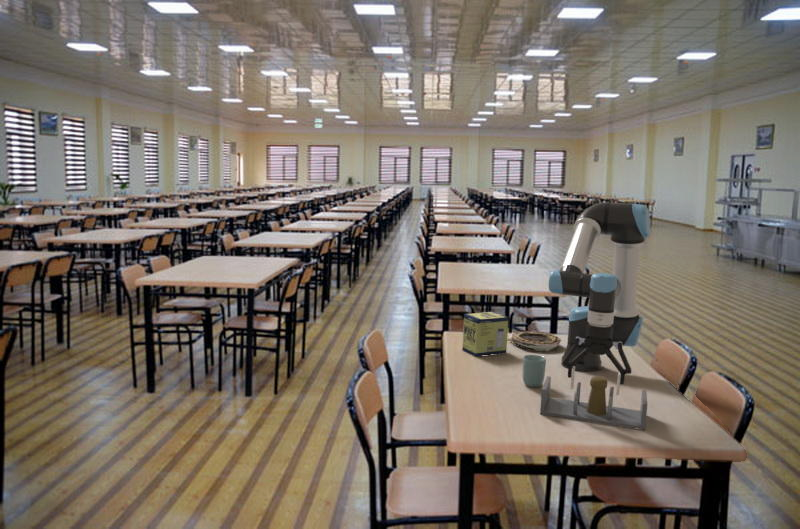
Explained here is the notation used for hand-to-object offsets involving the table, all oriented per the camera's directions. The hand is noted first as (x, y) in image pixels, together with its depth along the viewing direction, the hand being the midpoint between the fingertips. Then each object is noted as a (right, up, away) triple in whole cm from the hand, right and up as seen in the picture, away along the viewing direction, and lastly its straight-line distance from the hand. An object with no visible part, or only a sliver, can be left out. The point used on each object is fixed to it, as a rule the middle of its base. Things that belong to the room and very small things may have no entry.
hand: (594, 391), depth 200 cm
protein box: (-25, +3, +67) cm, 71 cm away
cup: (-14, -3, +26) cm, 30 cm away
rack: (0, -7, +1) cm, 7 cm away
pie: (-2, +3, +79) cm, 79 cm away
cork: (+1, -7, 0) cm, 7 cm away
